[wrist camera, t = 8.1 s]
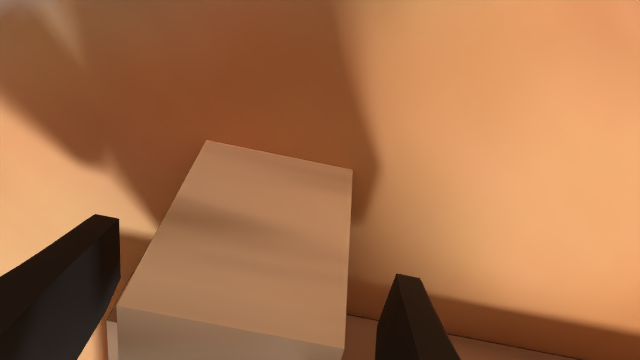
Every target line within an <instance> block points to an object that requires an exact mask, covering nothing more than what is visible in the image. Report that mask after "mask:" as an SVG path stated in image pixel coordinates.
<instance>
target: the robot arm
mask: <svg viewBox="0 0 640 360" xmlns="http://www.w3.org/2000/svg"><path fill="white" fill-rule="evenodd" d="M120 277H121V275H120V238H119V219H117V218H112V217H107V216H102V215H97V214H95V215H93V216H91V217H90V218H88V219H87V220H85V221H84V222H82V223H81V224H80V225H78V226H77V227H75V228H74V229H72V230H71V231H70V232H68V233H67V234H65V235H64V236H62V237H61V238H60V239H58V240H57V241H55V242H54V243H52V244H51V245H49V246H48V247H46V248H45V249H43V250H42V251H40V252H39V253H37V254H36V255H34V256H33V257H31V258H30V259H28V260H27V261H25V262H24V263H22V264H21V265H19V266H17V267H16V268H14V269H12V270H11V271H9V272H7V273H6V274H4V275H2V276H1V277H0V360H77V359H78V357H79V355H80V354H81V352H82V350H83V349H84V347H85V345H86V344H87V342H88V340H89V339H90V337H91V335H92V334H93V332H94V330H95V329H96V327H97V325H98V324H99V322H100V320H101V319H102V317H103V315H104V313H105V312H106V309H107V307H108V305H109V303H110V301H111V298H112V296H113V294H114V291H115V289H116V287H117V284H118V282H119V280H120ZM375 360H461V358H460V357H459V355H458V353H457V352H456V350H455V348H454V346H453V344H452V342H451V340H450V339H449V337H448V335H447V333H446V331H445V329H444V327H443V325H442V323H441V321H440V319H439V317H438V315H437V313H436V311H435V309H434V307H433V305H432V303H431V301H430V299H429V296H428V294H427V292H426V290H425V288H424V285H423V283H422V281H421V280H420V278H416V277H411V276H406V275H401V274H396V276H395V279H394V281H393V284H392V287H391V290H390V292H389V295H388V298H387V300H386V303H385V306H384V309H383V311H382V314H381V317H380V319H379V322H378V325H377V331H376V347H375Z"/></svg>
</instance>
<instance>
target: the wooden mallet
mask: <svg viewBox="0 0 640 360" xmlns="http://www.w3.org/2000/svg"><path fill="white" fill-rule="evenodd" d="M352 179H353V170H352V169H347V168H343V167H338V166H333V165H328V164H323V163H318V162H313V161H308V160H303V159H298V158H293V157H289V156H284V155H279V154H274V153H269V152H264V151H259V150H254V149H249V148H244V147H239V146H235V145H230V144H225V143H220V142H215V141H210V140H206V142H205V143H204V145H203V147H202V149H201V151H200V153H199V154H198V156H197V158H196V160H195V162H194V164H193V165H192V167H191V169H190V171H189V173H188V175H187V176H186V178H185V180H184V182H183V184H182V186H181V188H180V189H179V191H178V193H177V195H176V197H175V199H174V200H173V202H172V204H171V206H170V208H169V210H168V211H167V213H166V215H165V217H164V219H163V221H162V223H161V224H160V226H159V228H158V230H157V232H156V234H155V235H154V237H153V239H152V241H151V243H150V245H149V246H148V248H147V250H146V252H145V254H144V256H143V258H142V259H141V261H140V263H139V265H138V267H137V269H136V270H135V272H134V274H133V276H132V278H131V280H130V281H129V283H128V285H127V287H126V289H125V291H124V292H123V294H122V296H121V298H120V300H119V302H118V304H117V305H116V309H117V337H118V360H341V358H342V355H343V352H344V346H345V325H346V304H347V284H348V263H349V242H350V221H351V200H352Z"/></svg>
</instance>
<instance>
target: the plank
mask: <svg viewBox="0 0 640 360" xmlns="http://www.w3.org/2000/svg"><path fill="white" fill-rule="evenodd" d="M133 274H134V273H132V275H131V277H130V278H129V280H128V282H127V284H126V286H125V288H124V289H123V291H122V293H121V295H120V297H119V299H118V300H117V302H116V304H115V306H114V308H113V309H112V311H111V313H110V315H109V317H108V319H107V320H106V325H107V344H108V360H118V337H117V309H116V305H117V304H118V302H119V300H120V298H121V296H122V294H123V292H124V291H125V289H126V287H127V285H128V283H129V281H130V280H131V278H132V276H133ZM378 322H379V321H377V320H371V319H366V318H361V317H356V316H351V315H346V325H345V346H344V352H343V355H342V358H341V360H375V347H376V331H377V325H378ZM447 335H448V337H449V339H450V340H451V342H452V344H453V346H454V348H455V350H456V352H457V353H458V355H459V357H460V358H461V360H578V359H572V358H567V357H562V356H557V355H552V354H547V353H542V352H536V351H531V350H526V349H521V348H516V347H511V346H505V345H500V344H495V343H490V342H485V341H480V340H475V339H469V338H464V337H459V336H454V335H449V334H447Z"/></svg>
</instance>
